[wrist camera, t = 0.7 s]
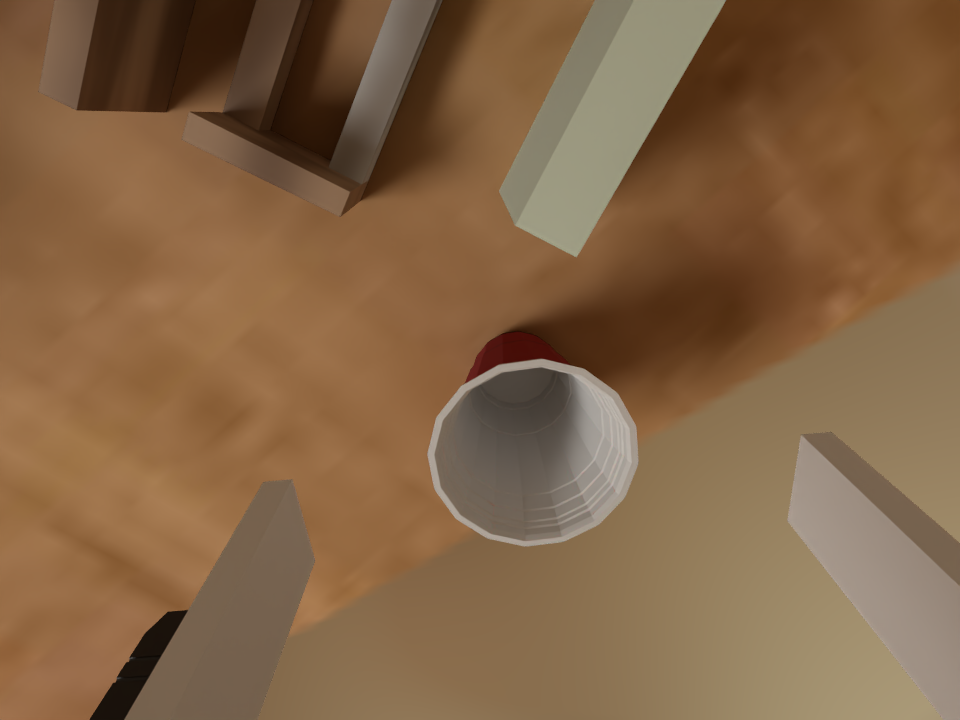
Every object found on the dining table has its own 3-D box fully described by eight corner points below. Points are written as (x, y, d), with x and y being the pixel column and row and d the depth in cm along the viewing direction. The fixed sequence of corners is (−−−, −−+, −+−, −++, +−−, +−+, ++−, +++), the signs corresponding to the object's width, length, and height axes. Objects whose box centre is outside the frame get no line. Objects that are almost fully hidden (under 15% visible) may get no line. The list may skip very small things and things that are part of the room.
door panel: (498, 191, 34) (515, 225, 23) (601, -14, 30) (682, -92, 19) (540, 213, 35) (576, 257, 24) (647, 15, 30) (751, -43, 19)
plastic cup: (567, 269, 36) (612, 335, 25) (607, 405, 40) (661, 513, 29) (413, 323, 37) (392, 408, 26) (468, 449, 41) (469, 569, 30)
